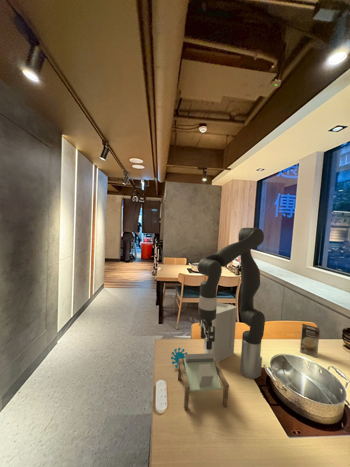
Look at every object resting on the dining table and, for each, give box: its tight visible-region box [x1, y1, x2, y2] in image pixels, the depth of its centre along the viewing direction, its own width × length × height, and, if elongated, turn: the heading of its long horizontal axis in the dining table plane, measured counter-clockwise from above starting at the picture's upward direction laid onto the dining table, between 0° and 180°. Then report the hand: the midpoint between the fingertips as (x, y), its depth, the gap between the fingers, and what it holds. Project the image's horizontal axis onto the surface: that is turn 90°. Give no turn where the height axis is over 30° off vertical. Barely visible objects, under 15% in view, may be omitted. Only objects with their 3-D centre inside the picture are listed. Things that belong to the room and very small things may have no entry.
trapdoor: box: [184, 353, 222, 392], centre depth 93 cm, size 14×14×4 cm
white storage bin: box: [203, 302, 238, 363], centre depth 124 cm, size 19×15×28 cm
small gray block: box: [197, 364, 214, 387], centre depth 89 cm, size 5×5×7 cm
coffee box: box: [299, 323, 320, 358], centre depth 130 cm, size 9×6×16 cm
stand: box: [177, 358, 230, 411], centre depth 94 cm, size 18×18×10 cm
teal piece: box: [170, 347, 188, 369], centre depth 113 cm, size 11×6×10 cm
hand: (205, 343), depth 90 cm, fingers open, 8 cm apart
